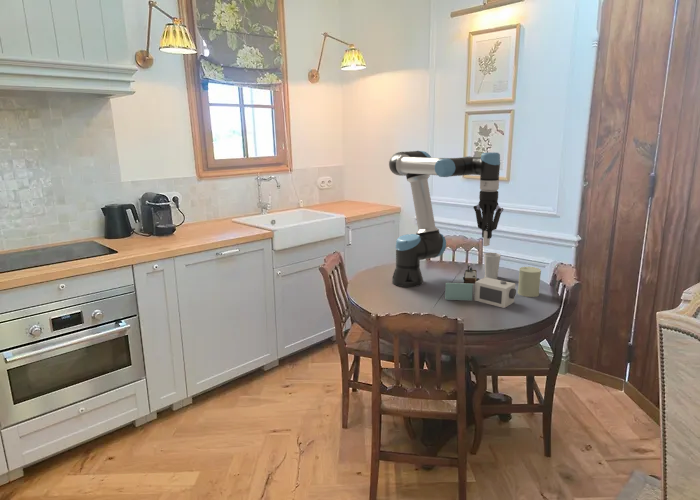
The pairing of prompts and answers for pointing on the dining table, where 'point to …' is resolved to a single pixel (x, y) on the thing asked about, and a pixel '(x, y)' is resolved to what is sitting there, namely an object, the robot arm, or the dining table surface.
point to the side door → (460, 291)
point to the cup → (491, 265)
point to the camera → (470, 276)
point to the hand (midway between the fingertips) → (486, 245)
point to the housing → (494, 292)
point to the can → (529, 281)
